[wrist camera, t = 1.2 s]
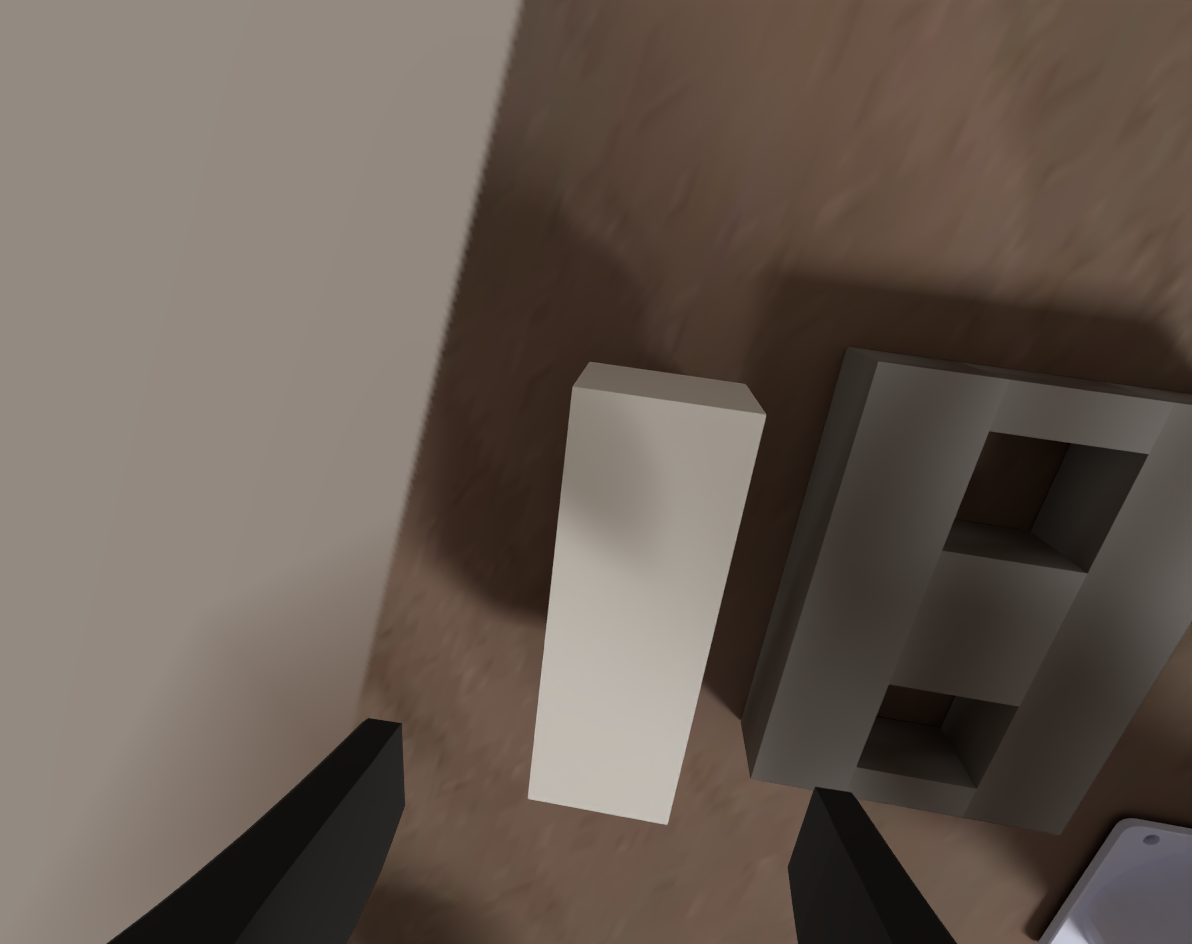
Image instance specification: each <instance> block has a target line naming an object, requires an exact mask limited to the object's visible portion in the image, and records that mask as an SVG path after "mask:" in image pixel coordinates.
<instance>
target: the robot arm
mask: <svg viewBox="0 0 1192 944" xmlns="http://www.w3.org/2000/svg"><path fill="white" fill-rule="evenodd" d="M404 807H405V794H404V769H403V744H402V723H397V722H390V721H384V720H377V719H370V718H368V719H366V720H365V721H363V722H362V723H361V724H360V725H359V726H358V727H357V728H356V729H355V730H354V731H353V732H352V733H351V734H350V735H349V736H348V737H347V738H346V739H345V740H344V741H343V742H342V743H341V744H340V745H339V746H337V747H336V748H335V749H334V751H332V752H331V753H330V754H329V755H328V756H327V757H326V758H325V759H324V760H323V761H322V762H321V763H320V764H319V765H318V766H317V767H316V768H315V769H314V770H313V771H311V772H310V773H309V774H308V775H307V776H306V777H305V778H304V779H303V780H302V781H301V782H300V783H299V784H298V785H297V786H295V787H294V789H292V790H291V791H290V792H289V793H288V794H287V795H286V796H284V797H283V798H282V799H281V800H280V801H279V802H278V803H277V804H276V805H275V806H273V807H272V808H271V809H270V810H269V811H268V812H267V813H266V814H265V815H264V816H263V817H261V818H260V819H259V820H258V821H257V822H256V823H255V824H254V825H252V826H251V827H250V828H249V829H248V830H247V831H246V832H245V833H243V834H242V835H241V836H240V837H239V838H238V839H236V840H235V841H234V842H233V843H232V844H231V845H229V846H228V847H227V848H226V849H224V850H223V851H222V852H221V853H220V854H219V855H217V856H216V857H215V858H214V859H213V860H211V861H210V862H209V863H208V864H207V865H206V866H204V867H203V868H202V869H201V870H200V871H198V873H196V874H195V875H194V876H192V877H191V878H190V879H189V880H188V881H187V882H186V883H184V884H183V885H182V886H180V887H179V888H178V889H177V890H175V891H174V892H173V893H172V894H170V895H169V896H168V897H167V898H165V899H164V900H163V901H162V902H160V903H159V904H158V905H157V906H155V907H154V908H153V909H151V910H150V911H149V912H148V913H146V914H145V915H144V916H142V917H141V918H140V919H139V920H137V921H136V922H135V923H133V924H132V925H131V926H130V927H128V928H127V929H125V930H124V931H123V932H121V933H120V934H119V935H117V936H116V937H115V938H113V939H112V940H111V941H110V942H108V943H107V944H347V942H348V940H349V937H350V935H351V933H352V931H353V929H354V927H355V925H356V923H357V921H358V919H359V917H360V914H361V912H362V910H363V908H364V906H365V904H366V902H367V900H368V898H369V896H370V893H371V891H372V889H373V887H374V885H375V883H376V881H377V879H378V876H379V874H380V872H381V870H382V867H383V865H384V862H385V859H386V857H387V854H388V851H389V849H390V846H391V843H392V841H393V838H394V835H395V832H396V829H397V827H398V824H399V821H400V818H401V815H402V812H403V810H404ZM788 873H789V881H790V889H791V897H792V905H793V912H794V919H795V926H796V933H797V940H798V944H957V943H956V942H955V940H954V939H953V937H952V936H951V935H950V933H949V932H948V930H947V929H946V928H945V926H944V925H943V924H942V922H941V921H940V919H939V918H938V917H937V915H936V914H935V913H934V911H933V910H932V908H931V907H930V906H929V904H928V903H927V901H926V900H925V898H924V897H923V896H922V894H921V893H920V891H919V890H918V888H917V887H916V886H915V884H914V883H913V881H912V880H911V878H910V877H909V875H908V874H907V873H906V871H905V870H904V868H903V867H902V865H901V864H900V862H899V861H898V859H897V858H896V857H895V855H894V854H893V852H892V851H891V849H890V848H889V846H888V845H887V843H886V842H885V840H884V839H883V837H882V836H881V834H880V833H879V831H878V830H877V828H876V827H875V825H874V824H873V822H872V821H871V820H870V818H869V817H868V815H867V814H866V812H865V811H864V809H863V808H862V806H861V805H860V803H859V802H858V800H857V799H856V798H855V796H854V795H853V794H852V792H847V791H840V790H834V789H827V788H821V787H815V788H814V791H813V794H812V797H811V800H810V803H809V806H808V809H807V812H806V815H805V818H804V821H803V824H802V827H801V829H800V832H799V835H798V838H797V841H796V844H795V847H794V850H793V853H792V856H791V859H790V862H789V865H788ZM1038 944H1192V829H1191V828H1185V827H1180V826H1174V825H1168V824H1163V823H1157V822H1152V821H1146V820H1141V819H1135V818H1127V819H1123V820H1121V821H1119V822H1118V823H1117V824H1116V825H1115V827H1114V828H1113V830H1112V831H1111V833H1110V834H1109V836H1108V837H1107V839H1106V840H1105V842H1104V843H1103V845H1102V846H1101V848H1100V849H1099V851H1098V852H1097V854H1096V855H1095V857H1094V858H1093V860H1092V861H1091V863H1090V864H1089V866H1088V867H1087V869H1086V870H1085V872H1084V874H1083V875H1082V877H1081V878H1080V880H1079V881H1078V883H1077V884H1076V886H1075V887H1074V889H1073V890H1072V892H1071V893H1070V895H1069V896H1068V898H1067V899H1066V901H1065V902H1064V904H1063V905H1062V907H1061V908H1060V910H1059V911H1058V913H1057V914H1056V916H1055V917H1054V919H1053V920H1052V922H1051V923H1050V925H1049V926H1048V928H1047V930H1046V931H1045V933H1044V934H1043V936H1042V937H1041V939H1040V940H1039V942H1038Z"/></svg>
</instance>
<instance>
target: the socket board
mask: <svg viewBox="0 0 1192 944" xmlns="http://www.w3.org/2000/svg"><path fill="white" fill-rule="evenodd" d="M989 431H991V432H998V433H1005V434H1012V435H1019V436H1026V437H1033V438H1040V439H1047V440H1054V441H1061V442H1068V443H1070V446H1069V448H1068V450H1067V452H1066V454H1065V456H1064V459H1063V461H1062V463H1061V465H1060V467H1059V470H1058V472H1057V474H1056V476H1055V478H1054V481H1053V483H1052V485H1051V487H1050V489H1049V492H1048V494H1047V496H1046V498H1045V500H1044V503H1043V505H1042V507H1041V509H1040V511H1039V514H1038V516H1037V518H1036V520H1035V522H1034V524H1033V527H1032V529H1031V531H1026V530H1019V529H1013V528H1006V527H1000V526H993V525H987V524H980V523H974V522H967V521H961V520H954V519H955V516H956V514H957V511H958V509H959V506H960V504H961V501H962V499H963V496H964V494H965V491H966V489H967V486H968V484H969V481H970V479H971V476H972V474H973V471H974V469H975V466H976V463H977V461H978V458H979V456H980V453H981V451H982V448H983V446H984V443H985V441H986V438H987V436H988V433H989ZM1191 622H1192V394H1188V393H1181V392H1174V391H1166V390H1159V389H1152V388H1145V387H1137V386H1130V385H1123V384H1116V383H1108V382H1101V381H1094V380H1087V379H1079V378H1072V377H1065V376H1058V375H1050V374H1043V373H1036V372H1029V371H1021V370H1014V369H1007V368H1000V367H992V366H985V365H978V364H971V363H963V362H956V361H949V360H942V359H934V358H927V357H920V356H913V355H905V354H898V353H891V352H884V351H877V350H869V349H862V348H855V347H848V346H847V348H846V351H845V355H844V358H843V362H842V366H841V369H840V373H839V376H838V380H837V383H836V387H835V390H834V394H833V397H832V401H831V404H830V408H829V411H828V415H827V419H826V422H825V426H824V429H823V433H822V436H821V440H820V443H819V447H818V450H817V454H816V457H815V461H814V465H813V468H812V472H811V475H810V479H809V482H808V486H807V489H806V493H805V496H804V500H803V503H802V507H801V510H800V514H799V518H798V521H797V525H796V528H795V532H794V535H793V539H792V542H791V546H790V549H789V553H788V556H787V560H786V563H785V567H784V571H783V574H782V578H781V581H780V585H779V588H778V592H777V595H776V599H775V602H774V606H773V609H772V613H771V616H770V620H769V624H768V627H767V631H766V634H765V638H764V641H763V645H762V648H761V652H760V655H759V659H758V662H757V666H756V669H755V673H754V677H753V680H752V684H751V687H750V691H749V694H748V698H747V701H746V705H745V708H744V712H743V715H742V719H741V726H742V732H743V737H744V743H745V749H746V755H747V761H748V767H749V772H750V778H751V779H754V780H760V781H765V782H770V783H776V784H781V785H787V786H792V787H798V788H803V789H809V790H814V788H815V787H821V788H827V789H834V790H840V791H847V792H852V794H853V795H854V796H855V798H858V799H864V800H869V801H875V802H880V803H885V804H891V805H896V806H902V807H907V808H913V809H918V810H924V811H929V812H935V813H940V814H946V815H951V816H957V817H962V818H968V819H973V820H979V821H984V822H990V823H995V824H1000V825H1006V826H1011V827H1017V828H1022V829H1028V830H1033V831H1039V832H1044V833H1050V834H1055V835H1061V834H1062V832H1063V830H1064V829H1065V827H1066V825H1067V824H1068V822H1069V821H1070V819H1071V817H1072V816H1073V814H1074V812H1075V811H1076V809H1077V808H1078V806H1079V804H1080V803H1081V801H1082V799H1083V798H1084V796H1085V795H1086V793H1087V791H1088V790H1089V788H1090V786H1091V785H1092V783H1093V781H1094V780H1095V778H1096V777H1097V775H1098V773H1099V772H1100V770H1101V768H1102V767H1103V765H1104V764H1105V762H1106V760H1107V759H1108V757H1109V755H1110V754H1111V752H1112V751H1113V749H1114V747H1115V746H1116V744H1117V742H1118V741H1119V739H1120V738H1121V736H1122V734H1123V733H1124V731H1125V729H1126V728H1127V726H1128V725H1129V723H1130V721H1131V720H1132V718H1133V716H1134V715H1135V713H1136V712H1137V710H1138V708H1139V707H1140V705H1141V703H1142V702H1143V700H1144V699H1145V697H1146V695H1147V694H1148V692H1149V690H1150V689H1151V687H1152V686H1153V684H1154V682H1155V681H1156V679H1157V677H1158V676H1159V674H1160V673H1161V671H1162V669H1163V668H1164V666H1165V664H1166V663H1167V661H1168V660H1169V658H1170V656H1171V655H1172V653H1173V651H1174V650H1175V648H1176V647H1177V645H1178V643H1179V642H1180V640H1181V638H1182V637H1183V635H1184V633H1185V632H1186V630H1187V629H1188V627H1189V625H1190V624H1191ZM889 684H890V685H896V686H901V687H907V688H913V689H919V690H925V691H931V692H937V693H942V694H948V695H954V696H955V698H954V700H953V702H952V704H951V707H950V709H949V711H948V713H947V715H946V718H945V720H944V722H943V724H942V726H941V728H938V727H932V726H926V725H920V724H915V723H909V722H903V721H898V720H892V719H886V718H880V717H876V716H877V713H878V711H879V708H880V706H881V703H882V700H883V698H884V695H885V693H886V690H887V688H888V685H889Z"/></svg>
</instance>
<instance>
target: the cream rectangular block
mask: <svg viewBox="0 0 1192 944" xmlns="http://www.w3.org/2000/svg"><path fill="white" fill-rule="evenodd" d="M765 419H766V413H765V412H764V410H763V409H762V407H761V406H760V404H759V403H758V401H757V400H756V398H755V397H754V396H753V394H752V393H751V391H750V390H749V388H748V387H747V385H746V384H742V383H735V382H728V381H721V380H714V379H707V378H700V377H693V376H686V375H679V374H672V373H665V372H659V371H652V370H645V369H638V368H631V367H624V366H617V365H610V364H603V363H596V362H589V363H588V365H587V366H586V368H585V369H584V370H583V372H582V373H581V375H580V376H579V378H578V379H577V381H576V382H575V384H574V385H573V387H572V396H571V405H570V415H569V424H568V433H567V442H566V451H565V461H564V470H563V479H562V488H561V497H560V507H559V516H558V525H557V534H556V543H555V553H554V562H553V571H552V580H551V589H550V599H549V608H548V617H547V626H546V635H545V645H544V654H543V663H542V672H541V681H540V691H539V700H538V709H537V718H536V727H535V737H534V746H533V755H532V764H531V774H530V783H529V792H528V799H532V800H537V801H543V802H548V803H553V804H559V805H564V806H569V807H575V808H580V809H585V810H591V811H596V812H601V813H607V814H612V815H617V816H623V817H628V818H633V819H639V820H644V821H649V822H655V823H660V824H665V825H667V824H668V820H669V816H670V812H671V808H672V804H673V799H674V795H675V791H676V787H677V783H678V779H679V775H680V770H681V766H682V762H683V758H684V754H685V750H686V746H687V741H688V737H689V733H690V729H691V725H692V721H693V717H694V712H695V708H696V704H697V700H698V696H699V692H700V688H701V684H702V679H703V675H704V671H705V667H706V663H707V659H708V655H709V650H710V646H711V642H712V638H713V634H714V630H715V626H716V621H717V617H718V613H719V609H720V605H721V601H722V597H723V592H724V588H725V584H726V580H727V576H728V572H729V568H730V564H731V559H732V555H733V551H734V547H735V543H736V539H737V535H738V530H739V526H740V522H741V518H742V514H743V510H744V506H745V501H746V497H747V493H748V489H749V485H750V481H751V477H752V473H753V468H754V464H755V460H756V456H757V452H758V448H759V444H760V439H761V435H762V431H763V427H764V423H765Z"/></svg>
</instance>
